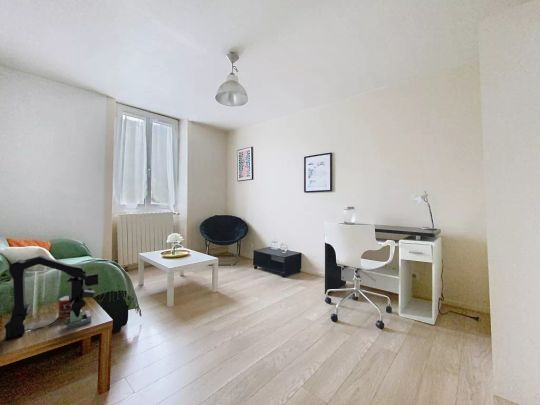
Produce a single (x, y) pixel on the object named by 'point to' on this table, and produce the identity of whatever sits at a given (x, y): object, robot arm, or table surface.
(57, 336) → the table surface
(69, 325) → the side mount
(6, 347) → the table surface
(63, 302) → the canned food
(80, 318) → the chute block
